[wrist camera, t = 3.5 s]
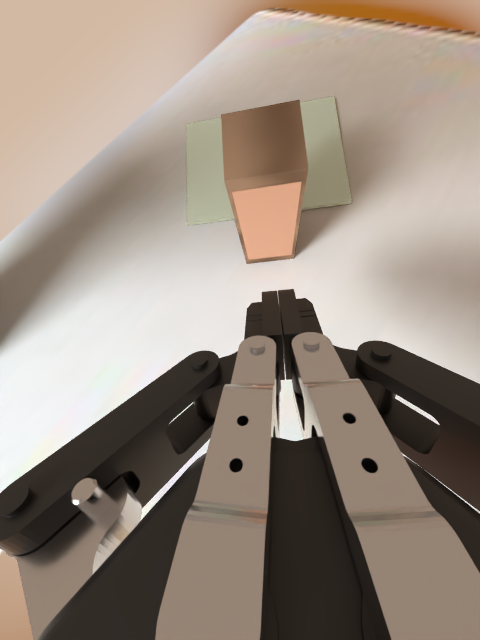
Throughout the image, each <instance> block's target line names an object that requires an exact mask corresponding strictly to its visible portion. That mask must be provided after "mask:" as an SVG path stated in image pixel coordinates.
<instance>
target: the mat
mask: <svg viewBox="0 0 480 640" xmlns="http://www.w3.org/2000/svg"><path fill="white" fill-rule="evenodd" d="M300 107H301V115H302V122H303V130H304V138H305V145H306V153H307V160H308V174H307V180H306V186H305V193H304V199H303V205H302V210H307V209H315V208H322V207H329V206H337V205H344V204H351V202H352V199H351V193H350V187H349V181H348V175H347V169H346V163H345V157H344V152H343V146H342V140H341V134H340V128H339V122H338V116H337V110H336V104H335V98H334V96H331V97H326V98H320V99H315V100H310V101H305V102H300ZM186 182H187V225H188V226H189V225H196V224H204V223H211V222H219V221H226V220H233V219H234V215H233V211H232V208H231V204H230V200H229V197H228V193H227V189H226V186H225V182H224V165H223V144H222V124H221V117H220V118H215V119H210V120H204V121H199V122H194V123H189V124H186Z"/></svg>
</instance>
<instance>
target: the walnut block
mask: <svg viewBox="0 0 480 640" xmlns="http://www.w3.org/2000/svg"><path fill="white" fill-rule="evenodd" d="M221 124H222V144H223V165H224V182H225V186H226V189H227V193H228V197H229V200H230V204H231V208H232V211H233V215H234V219H235V222H236V226H237V230H238V233H239V237H240V241H241V244H242V248H243V252H244V255H245V259H246V263H247V264H249V263H258V262H267V261H275V260H284V259H293V258H294V254H295V248H296V242H297V236H298V230H299V223H300V217H301V211H302V205H303V199H304V193H305V186H306V180H307V174H308V160H307V153H306V145H305V138H304V130H303V122H302V115H301V107H300V100H296V101H290V102H285V103H280V104H275V105H270V106H264V107H259V108H254V109H249V110H243V111H238V112H233V113H228V114H222V115H221Z"/></svg>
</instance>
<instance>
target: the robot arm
mask: <svg viewBox="0 0 480 640" xmlns="http://www.w3.org/2000/svg"><path fill="white" fill-rule="evenodd" d="M278 299H279V304H278ZM283 354H284V356H283ZM284 363H285V372H286V380H288V379H292V383H293V397H294V401H295V406H296V410H297V414H298V419H299V423H300V427H301V431H302V436H303V440H300V441H290V440H286V439H282V438H279V433H280V391H281V381H280V380H285V374H284ZM396 394H397V395H398V396H400V397H402V398H403V399H405V400H407V401H408V402H410V403H412V404H413V405H415V406H417V407H418V408H420V409H422V410H423V411H425V412H427V413H428V414H430V415H432V416H433V417H434V418H435V419H436V420H437V421H438V422H439V424H440V425H438V424H436V423H434V422H433V421H431V420H429V419H428V418H426V417H424V416H423V415H421V414H420V413H418V412H416V411H415V410H413V409H411V408H410V407H408V406H406V405H405V404H403V403H401V402H400V401H398V400H397V399H395V396H396ZM192 402H193V404H192V405H191V406H190V407H189V408H187V409H186V410H185V411H184V412H183V413H182V414H181V415H179V416H178V417H177V418H176V419H175V420H174V421H173V422H171V421H172V420H173V419H174V418H175V417H176V416H177V415H178V414H180V413H181V412H182V411H183V410H184V409H185V408H186V407H188V406H189V405H190V404H191V403H192ZM170 422H171V423H170ZM169 423H170V424H169ZM209 439H210V442H209V446H208V450H207V453H205V454H204V455H202V456H201V457H200V458H198V459H197V460H196V461H195V462H194V463H193V464H192V465H191V466H190V467H189V468H188V469H187V470H186V471H185V472H184V473H183V474H182V476H181V477H180V478H179V479H178V480H177V481H176V482H175V483H174V484H173V486H172V487H171V488H170V489H169V490H168V491H167V492H166V493H165V494H164V496H163V497H162V498H161V499H160V500H159V501H158V502H157V503H156V504H155V506H154V507H153V508H152V509H151V510H150V511H149V512H148V513H147V515H146V516H145V517H144V518H143V519H142V520H141V521H140V519H141V513H142V508H143V507H144V506H145V505H146V504H147V503H148V502H149V501H150V500H151V499H152V497H153V496H154V495H155V494H156V493H157V492H158V491H159V490H160V489H161V488H162V487H163V486H164V485H165V484H166V483H167V482H168V481H169V480H170V479H171V478H172V477H173V476H174V475H175V474H176V473H177V472H178V471H179V470H180V469H181V468H182V467H183V466H184V465H185V463H186V462H187V461H188V460H189V459H190V458H191V457H192V456H193V455H194V454H195V453H196V452H197V451H198V450H199V449H200V448H201V447H202V446H203V445H204V444H205V443H206V442H207V441H208V440H209ZM401 452H402V453H403V454H404V455H406V456H407V457H408V458H410V459H411V460H412V461H411V460H409V459H408V458H406V457H405V456H403V455H402V453H401ZM413 461H414V462H415V463H414V462H413ZM417 464H418V465H419V466H418V465H417ZM421 467H422V468H423V469H422V468H421ZM425 470H426V471H427V472H428V473H427V472H426V471H425ZM429 473H430V474H431V475H432V476H431V475H430V474H429ZM433 476H434V477H435V478H436V479H438V480H439V481H440V482H442V483H443V484H444V485H446V486H447V487H448V488H449V489H451V490H452V491H453V492H455V493H456V494H457V495H459V496H460V497H461V498H463V499H464V500H465V501H467V502H468V503H469V504H471V505H472V506H473V507H475V508H476V509H477V510H479V511H480V384H479V383H476V382H474V381H472V380H470V379H468V378H465V377H463V376H461V375H459V374H457V373H454V372H452V371H450V370H448V369H446V368H443V367H441V366H439V365H437V364H435V363H432V362H430V361H428V360H426V359H424V358H421V357H419V356H417V355H415V354H413V353H410V352H408V351H406V350H404V349H402V348H399V347H397V346H395V345H393V344H390V343H387V342H383V341H368V342H365V343H363V344H361V345H360V346H359V347H358V350H357V351H356V350H349V349H343V348H339V347H336V346H334V345H332V343H331V341H330V339H329V338H328V337H326V336H325V335H323V333H322V330H321V327H320V324H319V321H318V318H317V316H316V313H315V311H314V307H313V304H312V303H311V302H310V301H309V300H307V299H306V298H303V299H296V297H295V293H294V289H289V290H278V296H277V291H268V292H262V302H257V303H251V305H250V306H249V307H248V308H247V316H246V326H245V338H244V341H242V342H241V344H240V346H239V349H238V351H237V352H236V353H234V354H232V355H229V356H226V357H222V358H219V357H218V356H217V355H216V354H215V353H214V352H211V351H199V352H195V353H193V354H191V355H189V356H188V357H186V358H185V359H184V360H182V361H181V362H179V363H178V364H177V365H175V366H174V367H172V368H171V369H170V370H168V371H167V372H166V373H164V374H163V375H161V376H160V377H159V378H157V379H156V380H154V381H153V382H152V383H150V384H149V385H148V386H146V387H145V388H143V389H142V390H141V391H139V392H138V393H136V394H135V395H134V396H132V397H131V398H129V399H128V400H127V401H125V402H124V403H123V404H121V405H120V406H118V407H117V408H116V409H114V410H113V411H111V412H110V413H109V414H107V415H106V416H105V417H103V418H102V419H100V420H99V421H98V422H96V423H95V424H93V425H92V426H91V427H89V428H88V429H86V430H85V431H84V432H82V433H81V434H80V435H78V436H77V437H75V438H74V439H73V440H71V441H70V442H68V443H67V444H66V445H64V446H63V447H62V448H60V449H59V450H57V451H56V452H55V453H53V454H52V455H50V456H49V457H48V458H46V459H45V460H43V461H42V462H41V463H39V464H38V465H37V466H35V467H34V468H32V469H31V470H30V471H28V472H27V473H25V474H24V475H23V476H21V477H20V478H19V479H17V480H16V481H14V482H13V483H12V484H10V485H9V486H8V487H7V488H6V489H4V490H3V491H2V492H1V493H0V549H2V550H4V551H6V553H7V554H8V555H9V556H11V557H13V558H15V559H16V560H17V562H18V566H19V571H20V576H21V581H22V586H23V590H24V595H25V600H26V605H27V609H28V615H29V620H30V625H31V630H32V635H33V639H34V640H480V514H479V513H478V512H477V511H476V510H474V509H473V508H472V507H470V506H469V505H468V504H467V503H465V502H464V501H463V500H462V499H460V498H459V497H458V496H457V495H455V494H454V493H453V492H452V491H450V490H449V489H448V488H446V487H445V486H444V485H443V484H441V483H440V482H439V481H438V480H436V479H435V478H434V477H433Z"/></svg>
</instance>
